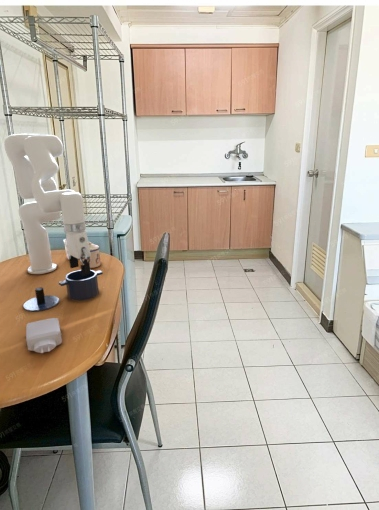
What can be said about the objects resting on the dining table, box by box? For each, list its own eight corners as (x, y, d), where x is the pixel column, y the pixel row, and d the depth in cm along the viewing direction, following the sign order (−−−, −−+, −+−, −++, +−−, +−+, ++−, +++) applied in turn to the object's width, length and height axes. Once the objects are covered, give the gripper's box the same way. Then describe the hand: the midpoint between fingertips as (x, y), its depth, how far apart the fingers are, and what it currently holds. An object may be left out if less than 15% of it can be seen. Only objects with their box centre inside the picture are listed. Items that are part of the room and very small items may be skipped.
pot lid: (19, 305, 127) (15, 288, 125) (51, 295, 135) (49, 279, 133) (30, 316, 119) (27, 299, 117) (64, 305, 127) (62, 288, 124)
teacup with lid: (100, 267, 163) (98, 244, 159) (80, 269, 161) (77, 245, 157) (102, 259, 174) (99, 237, 170) (83, 261, 172) (80, 238, 169)
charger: (28, 364, 94) (28, 336, 107) (64, 355, 97) (59, 330, 110) (25, 349, 92) (25, 323, 105) (62, 340, 96) (57, 316, 109)
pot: (56, 297, 133) (53, 276, 130) (96, 284, 144) (94, 265, 141) (69, 307, 125) (66, 285, 122) (110, 293, 136) (108, 273, 133)
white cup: (73, 261, 172) (70, 242, 168) (62, 259, 176) (60, 240, 172) (85, 257, 178) (83, 238, 175) (75, 254, 182) (72, 236, 179)
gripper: (95, 229, 122) (100, 274, 128) (74, 221, 134) (79, 262, 140) (75, 233, 117) (81, 279, 123) (55, 224, 129) (61, 267, 135)
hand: (80, 270), depth 131 cm, fingers open, 9 cm apart
